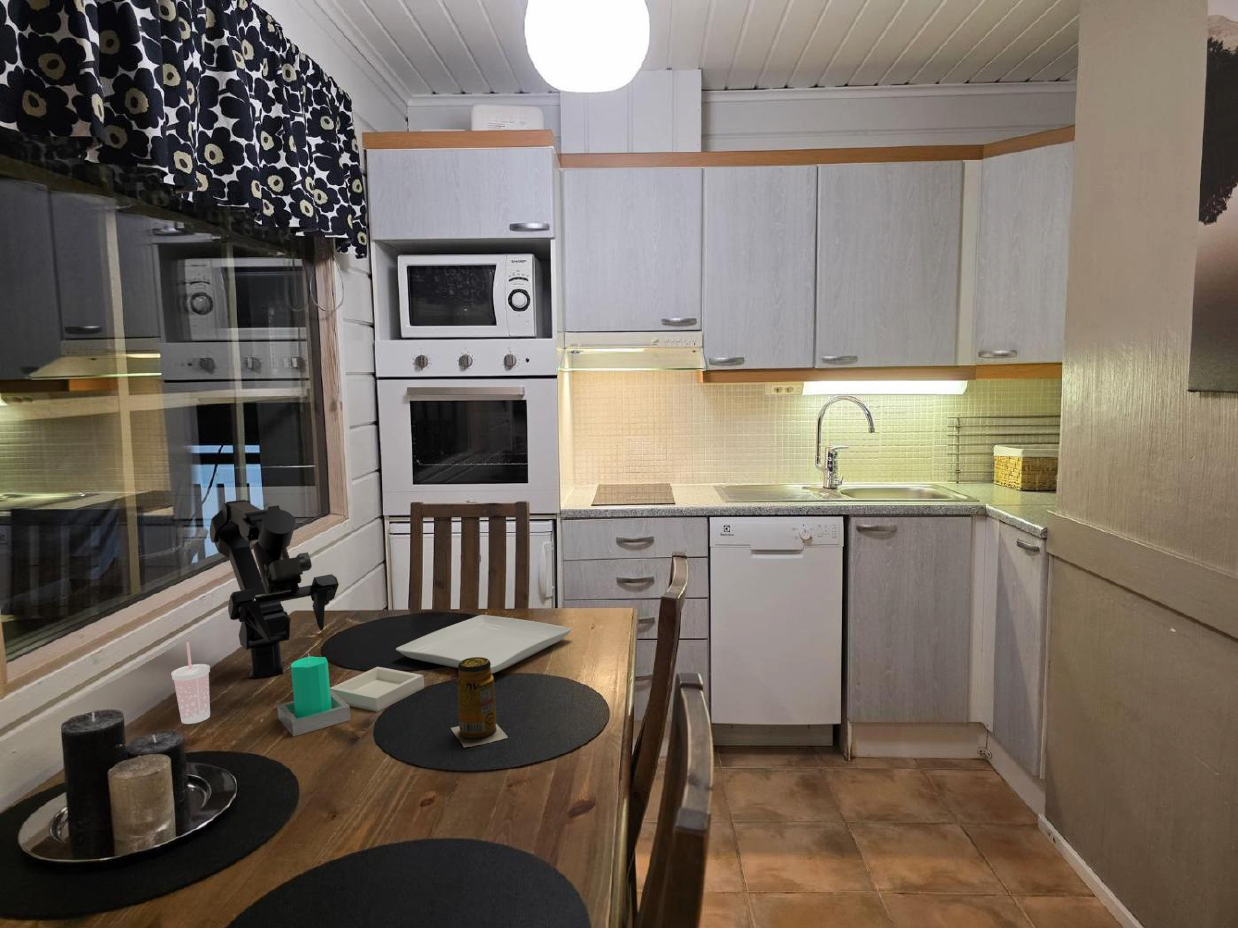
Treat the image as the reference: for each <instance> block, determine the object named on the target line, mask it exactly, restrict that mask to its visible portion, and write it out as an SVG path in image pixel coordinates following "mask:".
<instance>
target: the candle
mask: <svg viewBox="0 0 1238 928" xmlns="http://www.w3.org/2000/svg"><path fill="white" fill-rule="evenodd" d="M290 670H291V681H292V683H291V684H292V692H293V701H294V706H295V717H296V718H301V717H305V716H308V715H312V714H315V713H319V712H322V711H326V710H330V709H332V705H331V694H330V688H331V686H330V673H329V672H330V671H329V662H328V660H327V658H326V656H323V657H322V656H320V657H319V656H317V657H316V656H311V655H310V653H309V652H308V653H307V657H302V658H299V659H297V660H295V661H293V662H292V664H291V665H290Z"/></svg>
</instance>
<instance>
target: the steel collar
mask: <svg viewBox="0 0 1238 928" xmlns="http://www.w3.org/2000/svg"><path fill="white" fill-rule="evenodd" d="M330 694H331V705H332V709H330V710H326V711H322V712H319V713H315V714H312V715H308V716H305V717H301V718H296V717H295V706H294V700H291V701H287V702H283V703H280V704H277V705H276V706H277V715H278V717H277V718H278V720H279V721H280V723H282V725H283V726H284V727H285V729H286V730H287V731H288V732H289V733H290V734H291V735H292V737H297V736H300V735H303V734H307V733H311V732H314V731H315V732H316V731H318V730H321V729H324V728H327V727H328V728H329V727H331V726H335V725H338V724H342V723H345V722H348V721H351V719H352V717H351V706H349V705H348V704H347V703H346V702H344V701H343V700H342V699H341V698H340V697H339V696H338V695H337V694H336V693H334V692H333V691H330Z"/></svg>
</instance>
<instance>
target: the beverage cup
mask: <svg viewBox="0 0 1238 928" xmlns="http://www.w3.org/2000/svg"><path fill="white" fill-rule="evenodd" d="M185 646H186V652H187V662H188V663H187V664H188V665H185V666H181V667H179V668H176V669H174V670H172V671H171V673H170V674H171V679H172V680H173V682H174V687H175V694H176V698H177V699H176V700H177V705H178V711H179V717H180V720H181V721H180V722H181V723H182V724H185V725H190V724H197V723H201V722H204V721H206V720H208V719H209V718H210V716H211V705H210V703H211V702H210V675H209V674H210V672H211V666H210V664H206V663H195V664H192V655H191V647H190V642H189V641H186V645H185Z"/></svg>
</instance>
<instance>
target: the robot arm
mask: <svg viewBox="0 0 1238 928" xmlns="http://www.w3.org/2000/svg"><path fill="white" fill-rule="evenodd" d="M249 500H250V499H249ZM249 500H247V499H238V500H230V501H226V502H223V503H222V507H221V510H220V511H218V512H217V513H216V514H215V515H214V516H212V518H211V522H210V526H209V537H210V541H211V543H213V544H214V546H215V548H216V550H217V552H218V553H219V554H221V555H222V556H224V557H225V558H228V559H229V562H230V564H231V568H232V570H233V573H234V576H235V578H236V582H237V585H238V587H239V589H240V590H236V591H232V593H231V595H230V596H229V601H228V606H227V608H228V609H227V610H228V615H229V619H230V620H231V621H236V620H238V622H240V623H241V624H240V628H239V632H238V637H239V638H238V639H239V644H240V647H242V648H243V649H244V650H246V651H248V650H249V651H250V661H251V669H250V670H249V674H248V679H256V678H263V677H269V676H271V677H272V676H278V675H283V674H284V673H285V669H286V661H283V659H282V647H281V642H285V641H286V642H287V641H290V635H291V634H290V633H291V620H292V619H291V617H290V616H289V614H288V612H287V611H286V610H285V609H284V606H283V605H282V603H281V602H285V601H291V600H297V599H300V598H306V597H310V598H311V601H312V610H313V613H314V617H315V619H316V620H315V621H316V623H317V627H318V629H319V630H320V631H321V632H322V631H324V628H325V627H324V626H325V610H326V609H325V608H326V606H327V605H329V603H330V601H332V600H334V599H335V597H336V594H337V591H338V588H339V585H340V582H338V578H337V576H335V575H334V574H332V573H331V574H330V573H329V574H326V575H319V576H314V577H313V579H312V582H311V584H310V585H306V586H299V584H301V583H302V577H301V576H302V575H303V574H304V572H308V571H310V570H311V569H312V565H313V564H312V560H311V556H310V553H309V552H301V553H298V554H297V555H296V556H295V557H290V555H289V551H288V547H289V546H290V545H291V542H292V537H293V534H294V531H295V527H296V525H297V522H296V521H297V520H296V518H295V516H294V515H293V514H291V513H290V512H289V511H287V510H285V509H284V510H283V509H281V508H280V505H271V506H270V505H269V506H268V507H267V508H265V509H264V508H263V509H261V508H259V507H257V506H255V505H253V504H252V503H251V502H250V501H249ZM254 541H255V544H254V546H252V545H253V542H254ZM252 550H253V551H252ZM253 553H254V554H253Z"/></svg>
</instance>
